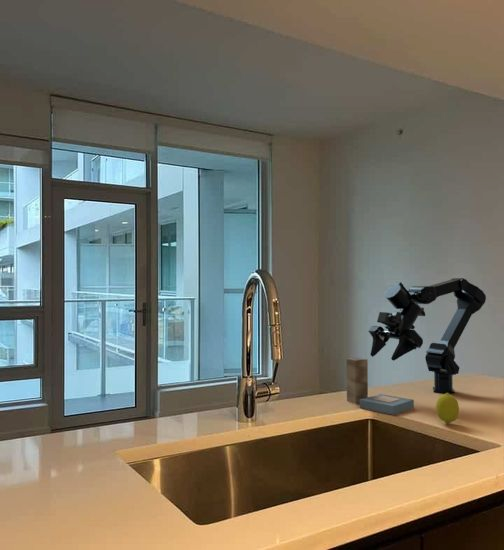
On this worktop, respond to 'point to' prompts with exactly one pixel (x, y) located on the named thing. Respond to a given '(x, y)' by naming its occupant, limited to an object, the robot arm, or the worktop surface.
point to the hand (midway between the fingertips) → (381, 357)
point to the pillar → (357, 379)
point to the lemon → (447, 408)
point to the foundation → (386, 404)
